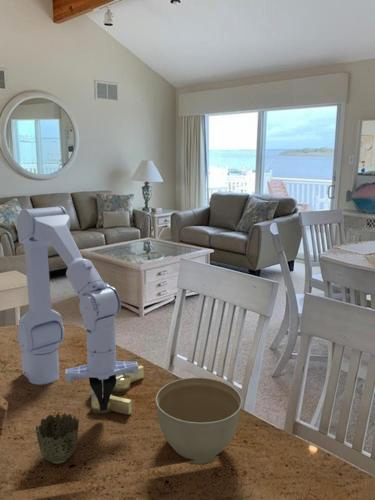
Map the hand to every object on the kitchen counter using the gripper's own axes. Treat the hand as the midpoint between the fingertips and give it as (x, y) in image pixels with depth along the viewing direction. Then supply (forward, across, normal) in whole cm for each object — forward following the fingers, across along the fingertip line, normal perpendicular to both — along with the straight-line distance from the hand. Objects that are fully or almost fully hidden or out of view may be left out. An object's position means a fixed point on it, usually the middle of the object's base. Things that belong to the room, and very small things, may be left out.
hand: (103, 408), depth 96 cm
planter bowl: (+4, +17, -13) cm, 22 cm away
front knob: (+2, +2, +3) cm, 4 cm away
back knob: (+2, +7, +13) cm, 15 cm away
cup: (+4, -9, -11) cm, 14 cm away
